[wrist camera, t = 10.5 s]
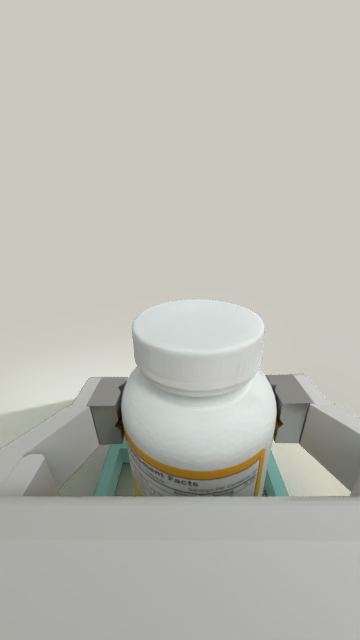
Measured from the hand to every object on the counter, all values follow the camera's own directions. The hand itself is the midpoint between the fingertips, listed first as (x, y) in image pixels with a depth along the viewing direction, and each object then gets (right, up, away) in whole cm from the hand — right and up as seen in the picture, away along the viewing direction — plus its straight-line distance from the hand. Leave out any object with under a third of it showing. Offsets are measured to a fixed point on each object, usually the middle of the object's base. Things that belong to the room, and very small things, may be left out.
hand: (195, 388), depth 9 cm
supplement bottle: (0, -6, +2) cm, 6 cm away
